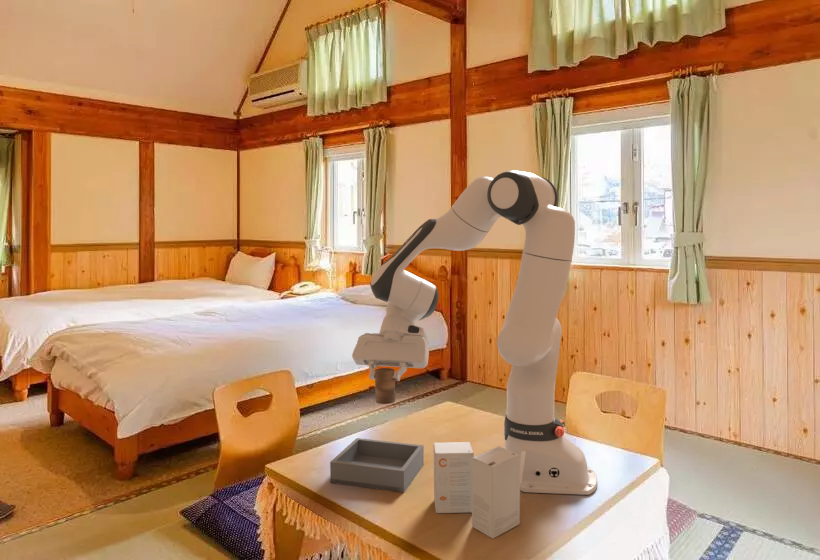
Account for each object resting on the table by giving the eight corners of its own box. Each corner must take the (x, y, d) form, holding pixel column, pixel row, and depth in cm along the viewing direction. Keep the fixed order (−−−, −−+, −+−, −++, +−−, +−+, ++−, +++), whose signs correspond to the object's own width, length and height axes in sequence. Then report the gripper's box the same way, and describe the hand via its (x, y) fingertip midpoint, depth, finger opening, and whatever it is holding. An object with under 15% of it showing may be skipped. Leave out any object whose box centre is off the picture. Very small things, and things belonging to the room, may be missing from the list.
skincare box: (498, 514, 119) (499, 444, 118) (521, 526, 115) (522, 453, 113) (470, 528, 114) (470, 455, 113) (492, 540, 109) (493, 464, 108)
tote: (423, 464, 145) (423, 445, 144) (404, 492, 129) (403, 471, 129) (356, 456, 150) (356, 438, 149) (330, 482, 135) (330, 461, 134)
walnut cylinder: (397, 399, 150) (397, 368, 149) (391, 404, 145) (390, 373, 144) (379, 397, 151) (379, 367, 151) (372, 403, 146) (371, 372, 146)
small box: (470, 499, 126) (470, 441, 125) (474, 513, 120) (474, 452, 119) (433, 499, 126) (433, 441, 125) (435, 513, 120) (434, 453, 119)
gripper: (356, 326, 156) (342, 370, 148) (429, 328, 150) (419, 374, 142) (363, 339, 161) (350, 383, 152) (434, 342, 155) (424, 387, 146)
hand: (384, 379), depth 147 cm, fingers closed on walnut cylinder, 5 cm apart
